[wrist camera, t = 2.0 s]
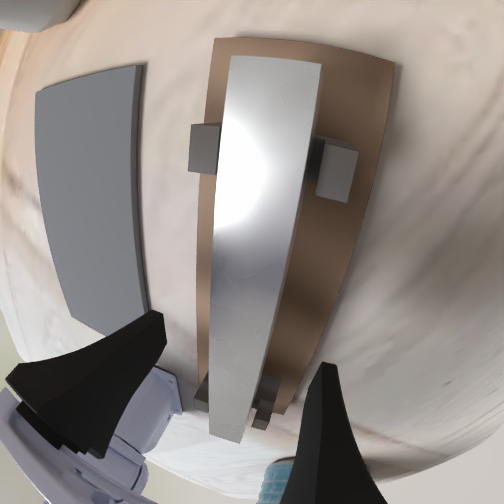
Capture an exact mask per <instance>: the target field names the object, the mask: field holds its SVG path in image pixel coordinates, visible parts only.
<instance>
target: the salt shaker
mask: <svg viewBox="0 0 504 504" xmlns="http://www.w3.org/2000/svg"><path fill="white" fill-rule="evenodd" d="M79 3H80V0H0V28H1V29H8V30H14V31H20V32H26V33H37V32H42V31H44V30H46V29H48V28H51V27H53V26H55V25H57V24H60V23H62V22H65V21H67V20H68V18H69V17H70V15H71V14H72V12H73V11H74V10H75V8H76V7H77V5H78V4H79Z"/></svg>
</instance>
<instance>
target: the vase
mask: <svg viewBox="0 0 504 504" xmlns="http://www.w3.org/2000/svg"><path fill="white" fill-rule="evenodd" d="M294 460H295V458H293V459H286V460H282V461H279V462H276V463H273V464H271V465H269V466H268V467H267V468H266V470H265V474H264V481H263V483H262V485H261V491H260V493H259V500H258V502H257V504H279V503H280V501H281V498H282V495H283V493H284V490H285V487H286V485H287V482H288V479H289V476H290V473H291V470H292V466H293V463H294ZM369 473H370V472H369Z"/></svg>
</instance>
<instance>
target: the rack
mask: <svg viewBox="0 0 504 504" xmlns="http://www.w3.org/2000/svg"><path fill="white" fill-rule="evenodd" d="M231 56H258V57H272V58H282V59H291V60H299V61H306V62H312V63H318V64H321V65H322V71H323V78H324V79H323V86H322V93H321V100H320V106H319V113H318V119H317V125H316V131H315V137H314V142H313V148H312V154H311V159H310V165H309V170H308V176H307V181H306V186H305V191H304V196H303V201H302V206H301V211H300V216H299V221H298V226H297V231H296V235H295V240H294V244H293V249H292V254H291V258H290V263H289V267H288V271H287V276H286V280H285V284H284V288H283V293H282V297H281V301H280V305H279V309H278V313H277V317H276V321H275V325H274V329H273V333H272V337H271V341H270V345H269V349H268V352H267V356H266V360H265V364H264V367H263V371H262V375H261V378H260V382H259V385H258V389H257V393H256V396H255V400H254V403H253V406H252V408H255V409H257V412H256V415H255V418H254V421H253V424H252V426H251V427H253V428H257V429H261V430H266V428H267V426H268V424H269V421H270V418H271V414H272V412H273V413H277V414H282V415H284V413H285V411H286V409H287V408H288V406H289V404H290V402H291V400H292V398H293V396H294V394H295V392H296V390H297V388H298V386H299V384H300V382H301V380H302V378H303V375H304V373H305V371H306V369H307V367H308V365H309V363H310V360H311V358H312V356H313V354H314V352H315V349H316V347H317V345H318V342H319V340H320V338H321V335H322V333H323V331H324V328H325V326H326V323H327V321H328V318H329V316H330V313H331V311H332V308H333V306H334V303H335V301H336V298H337V295H338V293H339V290H340V287H341V285H342V282H343V279H344V276H345V273H346V271H347V268H348V265H349V262H350V259H351V256H352V253H353V250H354V247H355V244H356V240H357V237H358V234H359V231H360V227H361V224H362V221H363V217H364V214H365V210H366V207H367V203H368V199H369V196H370V192H371V188H372V184H373V180H374V176H375V172H376V168H377V163H378V159H379V155H380V150H381V145H382V140H383V135H384V130H385V125H386V119H387V114H388V108H389V101H390V95H391V88H392V80H393V72H394V62H391V61H388V60H385V59H381V58H378V57H374V56H371V55H367V54H363V53H359V52H355V51H351V50H346V49H342V48H337V47H332V46H326V45H320V44H314V43H307V42H299V41H291V40H280V39H266V38H215V39H214V45H213V52H212V59H211V66H210V74H209V82H208V90H207V99H206V108H205V118H204V123H203V124H192V125H191V133H190V147H189V163H188V171H190V172H197V173H200V182H199V200H198V224H197V264H196V313H197V353H198V376H199V389H198V391H197V393H196V395H195V397H194V405H195V408H196V409H198V410H201V411H204V412H207V413H208V412H209V322H210V291H211V268H212V248H213V231H214V216H215V202H216V189H217V177H218V166H219V155H220V144H221V134H222V125H223V116H224V107H225V99H226V90H227V82H228V75H229V67H230V60H231Z"/></svg>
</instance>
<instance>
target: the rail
mask: <svg viewBox="0 0 504 504" xmlns="http://www.w3.org/2000/svg"><path fill="white" fill-rule="evenodd" d="M323 79H324V78H323V71H322V65H321V64H318V63H312V62H306V61H299V60H291V59H282V58H272V57H258V56H231V60H230V67H229V75H228V82H227V90H226V99H225V107H224V116H223V125H222V134H221V144H220V155H219V166H218V177H217V189H216V202H215V216H214V231H213V248H212V268H211V291H210V322H209V434H211V435H214V436H217V437H220V438H223V439H226V440H229V441H232V442H236V443H239V444H240V442H241V439H242V436H243V434H244V431H245V428H246V425H247V423H248V420H249V417H250V413H251V410H252V406H253V403H254V400H255V396H256V393H257V389H258V385H259V382H260V378H261V375H262V371H263V367H264V364H265V360H266V356H267V352H268V349H269V345H270V341H271V337H272V333H273V329H274V325H275V321H276V317H277V313H278V309H279V305H280V301H281V297H282V293H283V288H284V284H285V280H286V276H287V271H288V267H289V263H290V258H291V254H292V249H293V244H294V240H295V235H296V231H297V226H298V221H299V216H300V211H301V206H302V201H303V196H304V191H305V186H306V181H307V176H308V170H309V165H310V159H311V154H312V148H313V142H314V137H315V131H316V125H317V119H318V113H319V106H320V100H321V93H322V86H323Z"/></svg>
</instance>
